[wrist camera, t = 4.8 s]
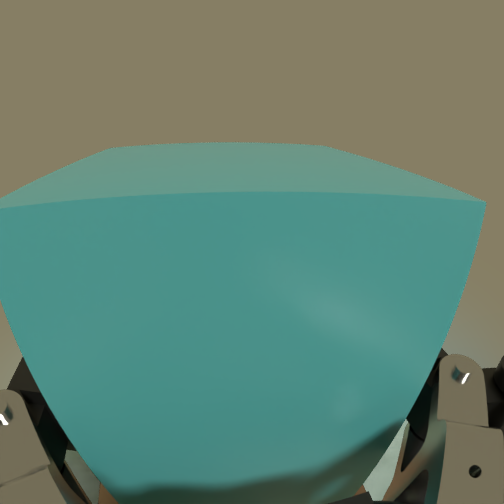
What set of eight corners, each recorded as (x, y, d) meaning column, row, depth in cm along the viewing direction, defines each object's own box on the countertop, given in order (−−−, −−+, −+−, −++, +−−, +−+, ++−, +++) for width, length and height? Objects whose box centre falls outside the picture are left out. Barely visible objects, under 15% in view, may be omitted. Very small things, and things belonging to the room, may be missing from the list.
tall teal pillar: (157, 542, 7) (-23, 212, 2) (156, 418, 12) (109, 148, 8) (331, 522, 8) (486, 202, 3) (290, 408, 13) (324, 145, 9)
